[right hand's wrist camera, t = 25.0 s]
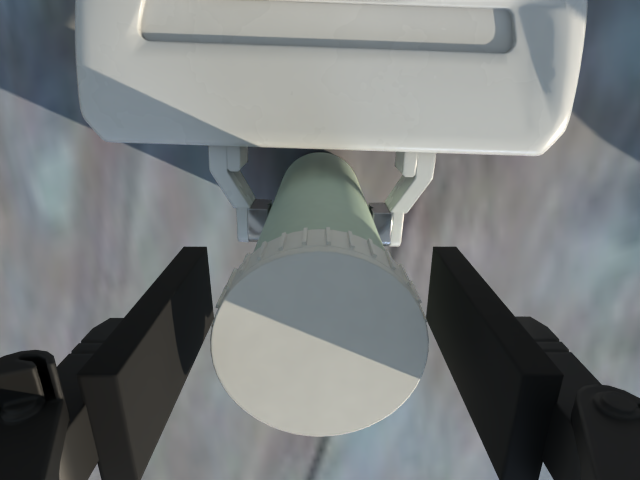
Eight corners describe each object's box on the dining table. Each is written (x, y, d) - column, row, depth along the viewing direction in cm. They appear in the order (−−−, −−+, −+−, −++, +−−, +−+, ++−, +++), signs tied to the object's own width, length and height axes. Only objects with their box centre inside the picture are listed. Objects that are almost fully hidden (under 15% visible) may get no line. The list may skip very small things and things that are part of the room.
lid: (242, 406, 13) (232, 448, 12) (201, 239, 11) (183, 263, 10) (422, 387, 13) (435, 428, 11) (411, 212, 11) (427, 233, 9)
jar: (281, 227, 28) (235, 401, 12) (280, 151, 26) (223, 245, 11) (356, 227, 28) (401, 402, 12) (360, 152, 26) (416, 247, 11)
